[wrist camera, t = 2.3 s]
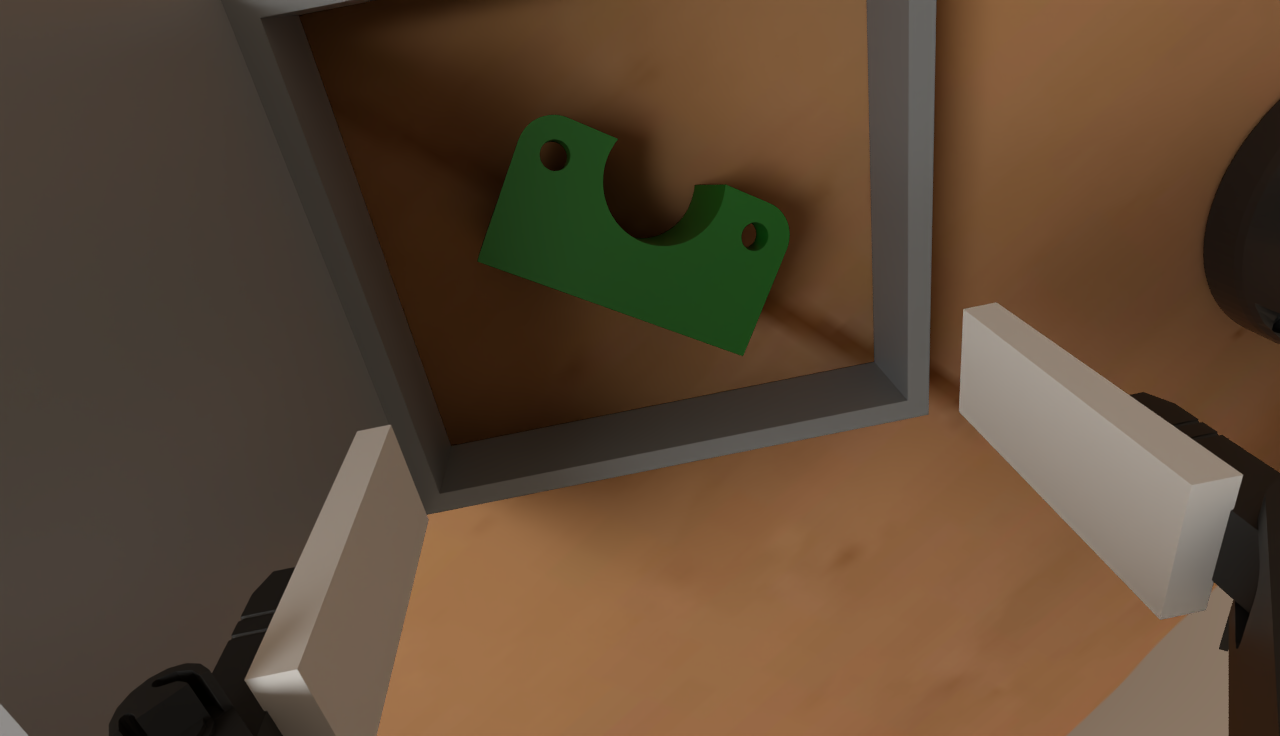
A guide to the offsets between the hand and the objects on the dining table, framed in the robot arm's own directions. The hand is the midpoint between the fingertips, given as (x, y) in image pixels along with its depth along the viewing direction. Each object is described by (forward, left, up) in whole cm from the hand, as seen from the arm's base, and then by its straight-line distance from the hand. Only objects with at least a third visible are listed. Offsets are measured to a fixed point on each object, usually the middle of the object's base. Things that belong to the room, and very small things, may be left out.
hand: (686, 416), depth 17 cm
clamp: (0, 0, -18) cm, 18 cm away
